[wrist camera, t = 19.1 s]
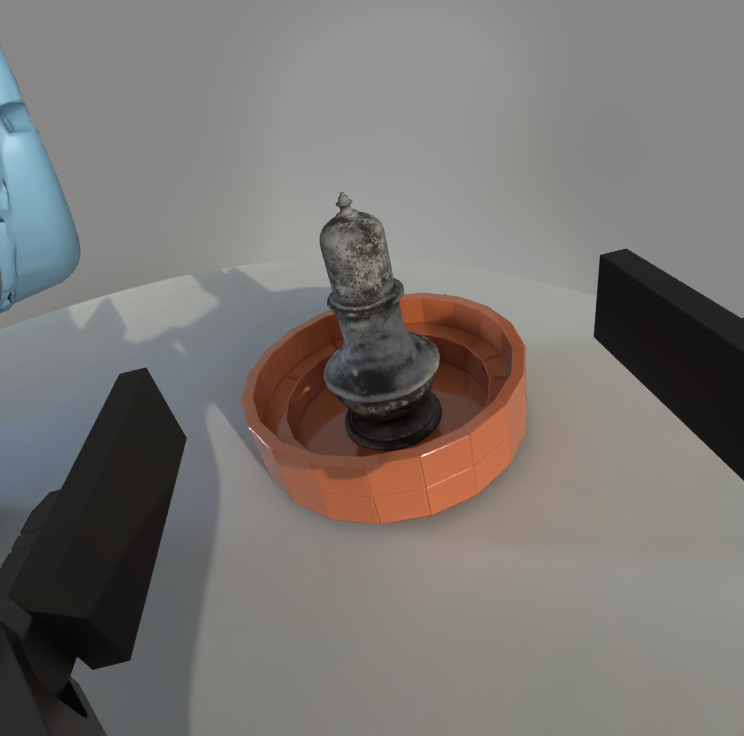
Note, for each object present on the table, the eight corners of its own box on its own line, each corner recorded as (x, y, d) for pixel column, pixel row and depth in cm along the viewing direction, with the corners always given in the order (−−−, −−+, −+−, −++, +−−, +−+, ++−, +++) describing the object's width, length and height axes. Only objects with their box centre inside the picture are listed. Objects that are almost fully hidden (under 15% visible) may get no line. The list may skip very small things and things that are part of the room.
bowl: (216, 475, 26) (184, 416, 24) (359, 336, 35) (346, 284, 33) (456, 583, 19) (443, 514, 16) (561, 372, 27) (563, 307, 25)
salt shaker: (413, 369, 29) (375, 162, 23) (469, 422, 25) (443, 182, 18) (324, 409, 28) (255, 201, 21) (366, 473, 23) (295, 233, 17)
